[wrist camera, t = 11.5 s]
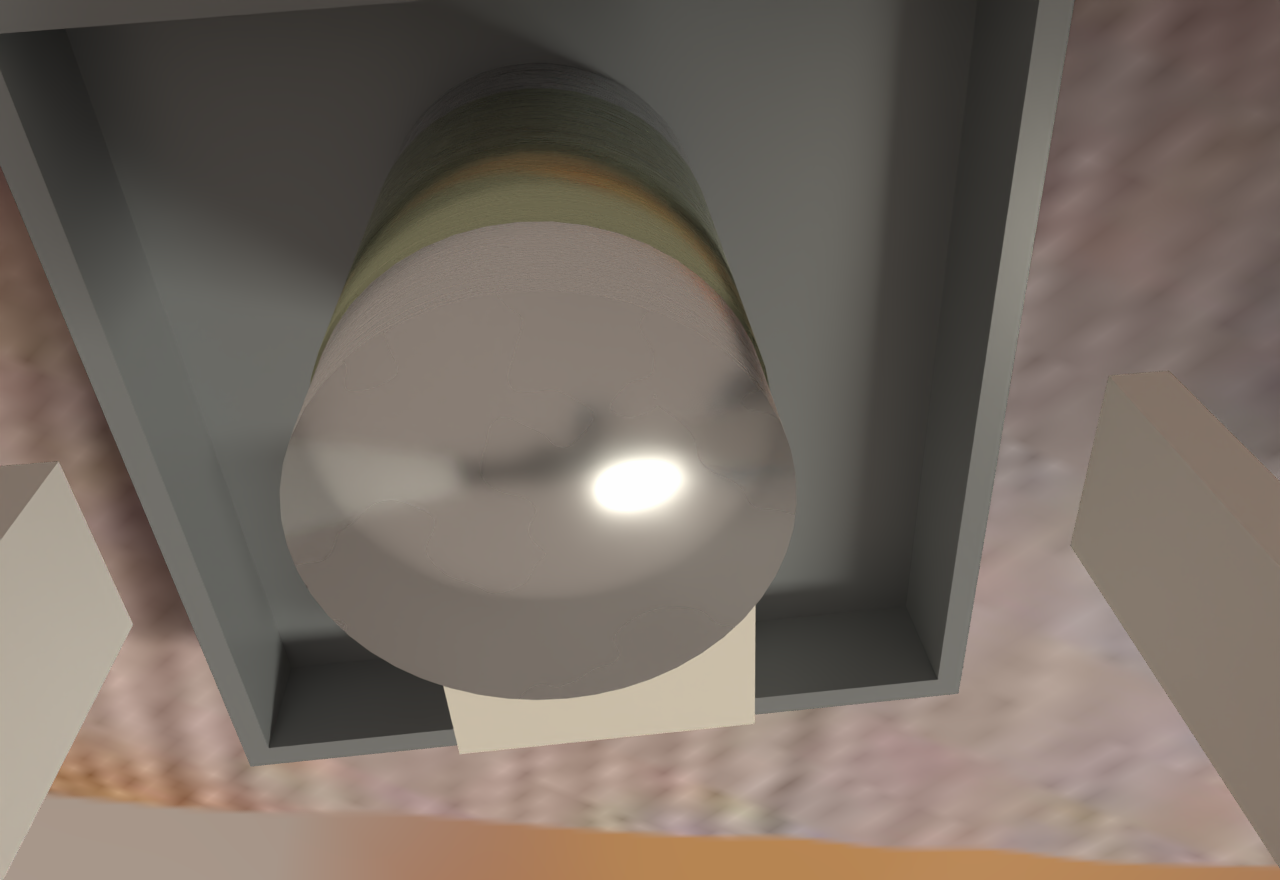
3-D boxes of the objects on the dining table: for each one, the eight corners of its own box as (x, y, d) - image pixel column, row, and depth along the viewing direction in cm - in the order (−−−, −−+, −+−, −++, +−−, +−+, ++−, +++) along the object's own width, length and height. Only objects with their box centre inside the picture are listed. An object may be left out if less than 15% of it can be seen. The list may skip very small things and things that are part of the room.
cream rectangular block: (727, 462, 25) (756, 570, 22) (729, 608, 27) (754, 723, 24) (439, 489, 25) (423, 603, 21) (469, 633, 27) (459, 754, 24)
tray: (1005, -115, 19) (1090, -93, 16) (916, 600, 29) (958, 693, 26) (26, -41, 18) (-70, -4, 15) (280, 663, 28) (250, 766, 25)
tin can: (702, 348, 23) (791, 680, 15) (414, 371, 23) (338, 721, 14) (699, 48, 19) (812, 264, 11) (355, 71, 19) (208, 310, 11)
